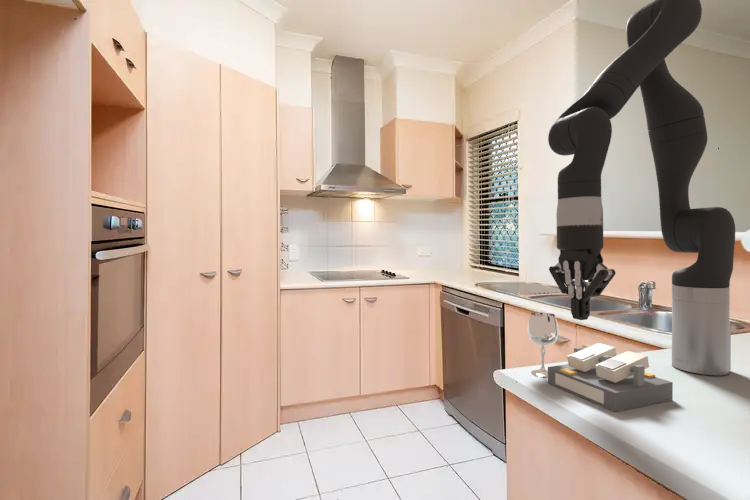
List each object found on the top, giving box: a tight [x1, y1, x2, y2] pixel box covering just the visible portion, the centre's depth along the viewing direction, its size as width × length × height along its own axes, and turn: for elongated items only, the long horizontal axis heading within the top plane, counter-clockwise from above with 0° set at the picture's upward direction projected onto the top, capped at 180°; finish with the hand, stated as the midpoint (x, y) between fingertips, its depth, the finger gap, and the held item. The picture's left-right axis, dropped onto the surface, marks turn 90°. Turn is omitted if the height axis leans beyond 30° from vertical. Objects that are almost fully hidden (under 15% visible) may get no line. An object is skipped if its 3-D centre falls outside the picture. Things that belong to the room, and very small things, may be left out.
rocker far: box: [595, 350, 650, 383], centre depth 68 cm, size 8×4×2 cm, turn 110°
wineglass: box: [526, 312, 559, 378], centre depth 80 cm, size 6×6×12 cm
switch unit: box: [547, 346, 674, 413], centre depth 70 cm, size 13×14×6 cm
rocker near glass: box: [566, 342, 618, 372], centre depth 73 cm, size 8×4×2 cm, turn 110°
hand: (580, 318), depth 72 cm, fingers closed
